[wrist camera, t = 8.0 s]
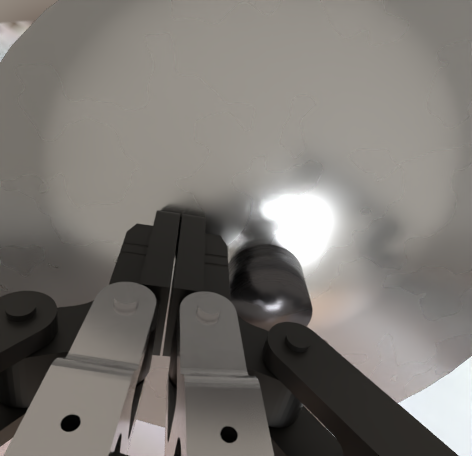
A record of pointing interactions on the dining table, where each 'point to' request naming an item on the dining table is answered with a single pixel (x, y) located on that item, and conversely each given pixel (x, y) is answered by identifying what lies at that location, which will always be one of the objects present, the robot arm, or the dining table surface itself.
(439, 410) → the dining table surface
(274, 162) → the cooker lid
